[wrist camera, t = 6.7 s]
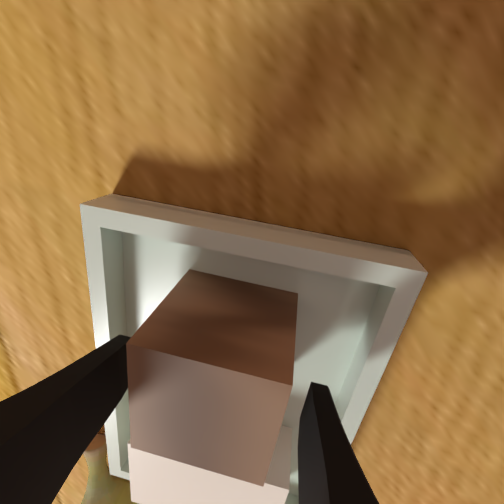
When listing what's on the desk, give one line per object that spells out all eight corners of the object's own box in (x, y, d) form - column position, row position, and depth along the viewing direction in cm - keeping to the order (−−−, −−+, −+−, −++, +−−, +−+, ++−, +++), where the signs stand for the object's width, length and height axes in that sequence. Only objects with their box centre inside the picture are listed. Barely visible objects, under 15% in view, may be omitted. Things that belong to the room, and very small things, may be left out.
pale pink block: (292, 428, 16) (289, 490, 13) (276, 482, 18) (270, 544, 15) (156, 392, 17) (127, 443, 14) (156, 447, 19) (131, 501, 16)
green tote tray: (409, 250, 12) (427, 272, 10) (310, 496, 19) (310, 535, 17) (111, 193, 13) (79, 204, 11) (127, 443, 20) (109, 474, 18)
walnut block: (298, 293, 12) (292, 385, 8) (277, 375, 15) (263, 486, 10) (189, 269, 13) (126, 343, 8) (184, 352, 15) (130, 447, 11)
